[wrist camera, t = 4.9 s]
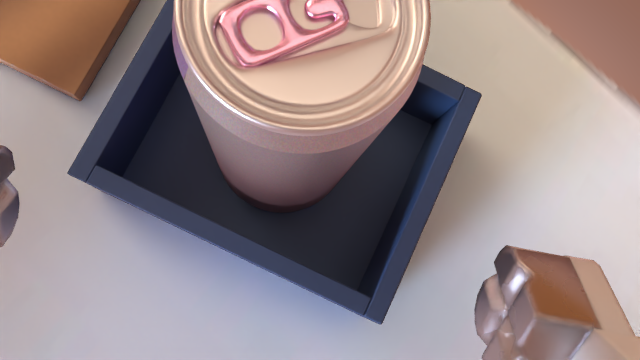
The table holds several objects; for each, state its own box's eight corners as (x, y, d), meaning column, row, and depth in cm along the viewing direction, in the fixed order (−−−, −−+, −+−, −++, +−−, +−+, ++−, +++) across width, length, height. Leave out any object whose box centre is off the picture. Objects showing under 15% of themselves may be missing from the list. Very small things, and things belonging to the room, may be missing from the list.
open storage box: (98, 189, 26) (66, 173, 22) (204, -1, 28) (194, -49, 24) (362, 316, 26) (381, 325, 22) (450, 119, 28) (482, 93, 24)
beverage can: (197, 122, 27) (117, -62, 12) (310, 72, 28) (365, -155, 13) (251, 235, 26) (237, 189, 11) (364, 181, 27) (487, 73, 12)
